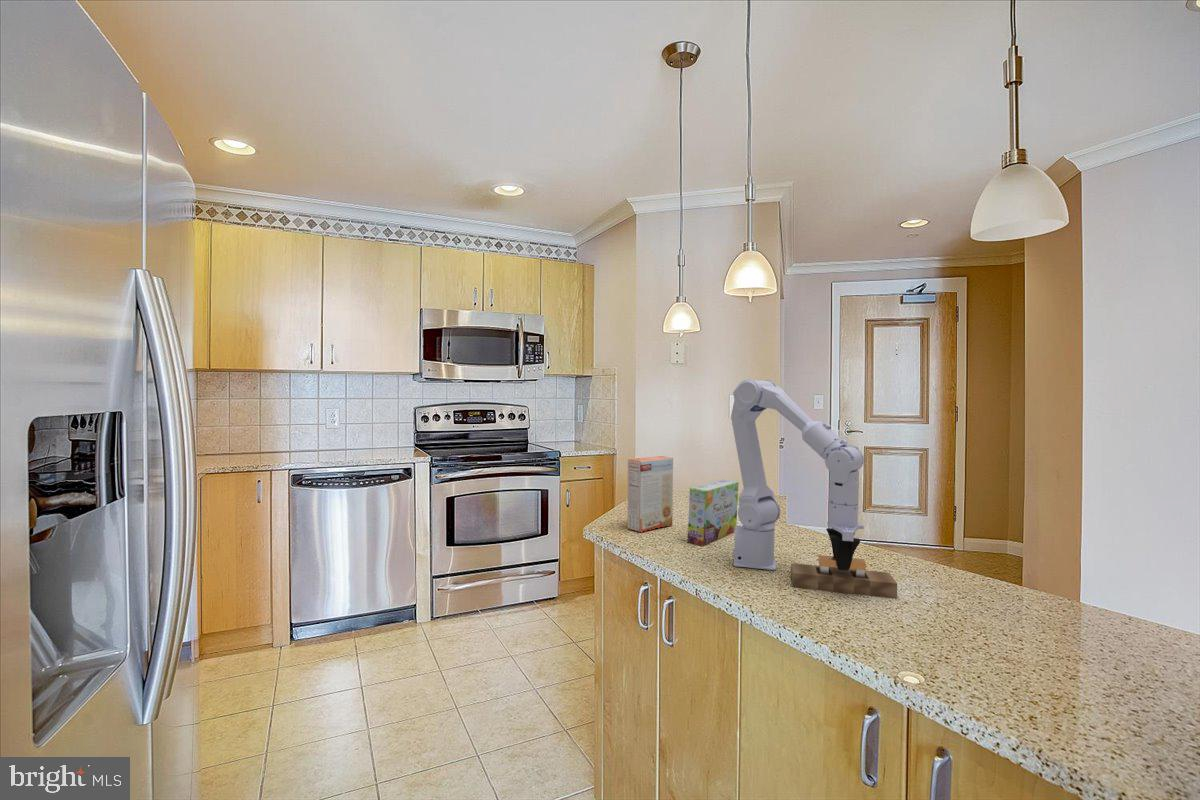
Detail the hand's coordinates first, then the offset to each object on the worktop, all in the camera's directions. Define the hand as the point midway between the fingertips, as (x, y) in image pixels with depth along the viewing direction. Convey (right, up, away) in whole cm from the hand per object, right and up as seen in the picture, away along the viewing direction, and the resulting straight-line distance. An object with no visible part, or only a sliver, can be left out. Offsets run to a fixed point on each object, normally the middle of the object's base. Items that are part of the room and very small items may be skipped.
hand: (841, 566), depth 118 cm
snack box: (-19, -4, +39) cm, 43 cm away
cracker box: (-37, -3, +48) cm, 60 cm away
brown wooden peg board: (0, -4, 0) cm, 4 cm away
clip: (0, -4, 0) cm, 4 cm away
